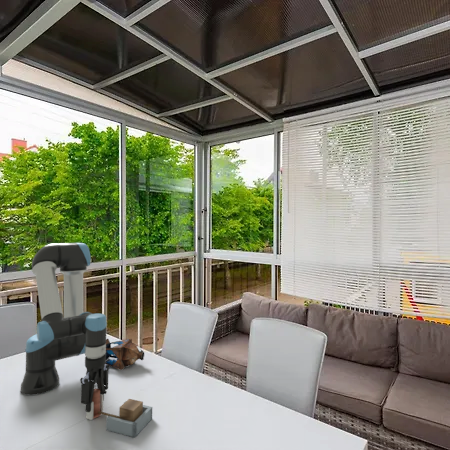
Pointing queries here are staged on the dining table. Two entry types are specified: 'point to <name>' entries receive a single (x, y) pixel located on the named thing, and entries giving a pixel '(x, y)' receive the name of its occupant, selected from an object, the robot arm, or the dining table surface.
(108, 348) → the lantern
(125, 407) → the block and peg linkage
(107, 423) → the slate open-sided box
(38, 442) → the dining table surface
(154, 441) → the dining table surface
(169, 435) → the dining table surface
